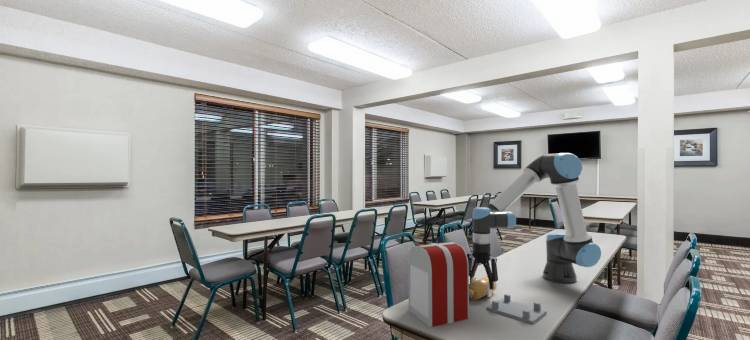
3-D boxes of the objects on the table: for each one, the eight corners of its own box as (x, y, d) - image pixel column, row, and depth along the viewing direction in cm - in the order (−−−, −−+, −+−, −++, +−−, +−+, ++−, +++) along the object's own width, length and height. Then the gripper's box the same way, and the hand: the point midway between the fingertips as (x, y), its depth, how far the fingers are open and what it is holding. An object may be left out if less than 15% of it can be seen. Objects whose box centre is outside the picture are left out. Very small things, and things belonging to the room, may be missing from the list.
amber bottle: (482, 290, 156) (481, 274, 156) (496, 293, 151) (496, 277, 151) (460, 301, 142) (459, 284, 143) (474, 305, 137) (474, 287, 138)
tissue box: (407, 309, 133) (407, 242, 134) (444, 302, 140) (444, 238, 140) (430, 327, 118) (429, 251, 118) (470, 318, 125) (469, 246, 125)
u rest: (486, 309, 133) (486, 300, 133) (501, 300, 142) (501, 292, 142) (533, 324, 120) (533, 314, 120) (546, 313, 129) (546, 304, 129)
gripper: (457, 240, 153) (457, 290, 153) (498, 247, 139) (499, 302, 139) (466, 238, 158) (466, 286, 158) (506, 244, 144) (507, 297, 144)
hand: (481, 293), depth 148 cm, fingers closed on amber bottle, 7 cm apart
